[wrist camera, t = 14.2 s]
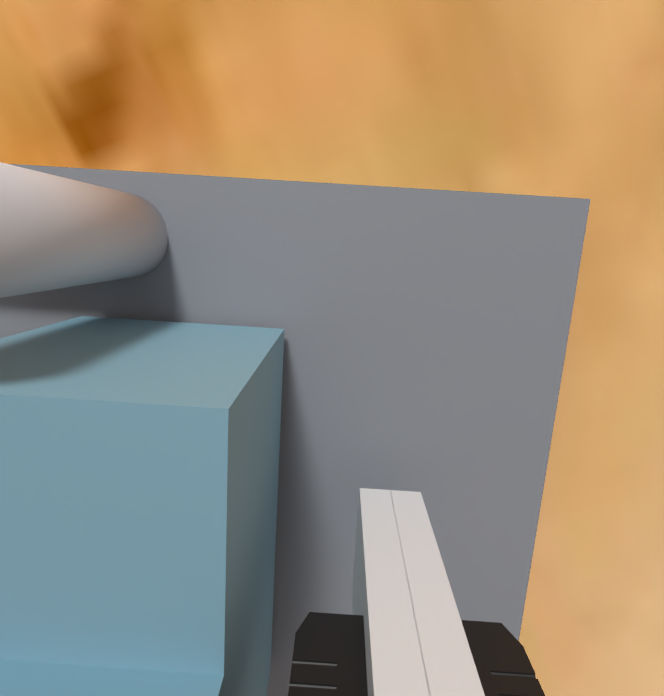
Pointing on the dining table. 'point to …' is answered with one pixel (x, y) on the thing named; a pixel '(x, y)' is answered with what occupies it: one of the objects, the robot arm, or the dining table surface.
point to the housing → (138, 508)
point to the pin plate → (339, 346)
